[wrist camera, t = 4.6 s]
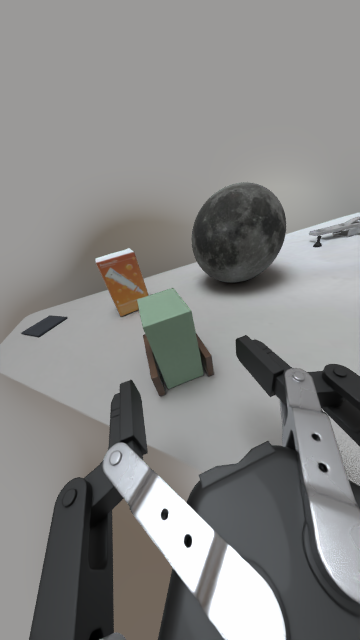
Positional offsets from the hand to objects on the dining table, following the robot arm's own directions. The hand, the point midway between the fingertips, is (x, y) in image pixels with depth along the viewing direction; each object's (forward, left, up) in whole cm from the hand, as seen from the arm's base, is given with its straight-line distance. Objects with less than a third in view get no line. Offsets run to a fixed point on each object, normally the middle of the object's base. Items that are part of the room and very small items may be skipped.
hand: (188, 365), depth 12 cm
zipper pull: (+69, -26, -9) cm, 74 cm away
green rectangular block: (+7, +6, -9) cm, 13 cm away
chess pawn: (+60, -19, -9) cm, 64 cm away
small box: (+22, +25, -9) cm, 34 cm away
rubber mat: (+11, +47, -9) cm, 49 cm away
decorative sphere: (+37, +2, -9) cm, 38 cm away
